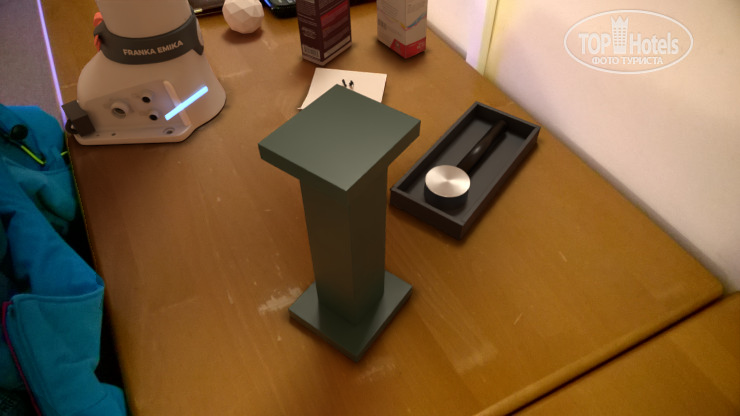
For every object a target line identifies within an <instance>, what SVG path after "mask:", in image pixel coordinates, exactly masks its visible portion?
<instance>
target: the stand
mask: <svg viewBox="0 0 740 416" xmlns="http://www.w3.org/2000/svg"><path fill="white" fill-rule="evenodd" d="M421 123H422V119H419V118H417V117H415V116H413V115H410V114H408V113H406V112H404V111H401V110H398V109H396V108H395V107H392V106H389V105H387V104H385V103H382V102H381V103H380V102H378V101H376V100H373V99H371V98H369V97H366V96H364V95H362V94H360V93H357V92H355V91H353V90H350V89H348V88H346V87H343V86H341V85H339V84H336V85H334V86H333V87H332V88H330V89H329V90H328V91H326V92H325V93H324V94H322V95H321V96H320V97H318V98H317V99H316V100H314V101H313V102H312V103H310V104H309V105H308V106H306V107H305V108H304V109H300V111H298V112H297V113H296V114H295V115H293V116H292V117H291V118H289V119H288V120H286V121H285V122H284V123H282V124H280V126H279V127H277V128H276V129H275V130H273V131H272V132H270V133H269V134H267V136H265V137H264V138H262V139H261V140H260V141H259V142H258V143H257V148H258V152H259V157H260V160H262V161H264V162H266V163H267V164H269V165H271V166H273V167H275V168H276V169H278V170H280V171H282V172H283V173H285V174H287V175H289V176H291V177H292V178H295V179H296V180H298V181H299V189H300V194H301V200H302V208H303V214H304V220H305V226H306V232H307V239H308V245H309V251H310V258H311V265H312V270H313V278H314V281H313V282H312V283H311V284H310V285H309V286H308V287H307V288H306V289H305V290H304V291H303V292H302V293H301V295H300V296H299V297H298V298H297V299H295V301H294V302H292V304H291V305H290V306H289V307H288V308H287V310H288V315H289V317H290V318H292V319H293V320H295V322H298V323H299V324H300V325H302V326H303V327H305V328H306V329H308V330H309V331H310V332H312V333H313V334H315V335H316V336H317V337H318V338H320V339H322V340H323V341H324V342H325V343H327V344H329V345H330V346H331V347H333V348H335V349H336V350H337V351H339V352H340V353H341V354H342V355H345V356H346V357H347V358H349V359H350V360H351V361H352V362H354V363H356V364H358V363H359V362H360V360H361V359H362V358H363V357H364V355H365V354H367V351H368V350H369V349H370V348H371V346H372V345H373V344H374V343H375V341H376V340H377V339H378V337H379V336H380V335H381V333H382V332H383V331H384V330H385V329H386V327H387V326H388V325H389V324H390V322H391V321H392V320H393V318H394V317H395V316H396V315H397V313H398V312H399V311H400V310H401V308H402V307H403V306H404V304H405V303H406V302H407V300H408V299H409V298H410V297H411V296H412V294H413V287H414V286H413V285H412V284H410V283H409V282H407V281H406V280H404V279H402V278H400V277H398V276H397V275H395V274H393V273H392V272H390V271H388V270H386V243H387V242H386V241H387V240H386V238H387V237H386V236H387V203H388V171H389V170H388V169H389V166H391V164H392V163H393V162H395V160H396V159H397V158H398V157H399V156H401V155H402V153H403V152H404V151H406V149H408V147H410V146H411V145H412V144H413V143H414V142H415V141H416V140H417V139H418V138H419V137H420V134H421V125H422V124H421Z"/></svg>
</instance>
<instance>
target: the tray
mask: <svg viewBox="0 0 740 416" xmlns="http://www.w3.org/2000/svg"><path fill="white" fill-rule="evenodd" d="M499 120H503V121H505V122H506V123H507V124H508V130H507V131H506V133H505V134H504V135H503V136H502V137H501V138H500V139H499V141H498V142H497V143H496V144H495V145H494V146H493V148H492V149H491V150H490V151H489V152H488V153H487V154H486V156H485V157H484V158H483V159H482V160H481V161H480V162H479V164H478V165H477V166H476V167H475V168H474V169H473V171H472V172H471V173H470V174H469V175H468V177H469V179H470V188H469V193H468V198H467V200H466V202H465V203H464V205H462V206H461V207H459V208H457V209H453V210H442V209H438V208H436V207H434V206H432V205H431V204H429V203H428V202H427V200H426V199H425V197H424V185H425V177H426V174H427V173H428V172H429V171H430V170H431V169H433V168H434V167H437V166H442V165H449V166H454V167H456V166H457V164H458V163H459V162H460V161H461V160H462V159H463V158H464V157H465V156H466V155H467V153H468V152H469V151H470V150H471V149H472V148H473V147H474V146H475V145H476V144H477V142H478V141H479V140H480V139H481V138H482V137H483V136H484V135H485V134H486V133H487V131H488V130H489V129H490V128H491V127H492V126H493V125H494V124H495V123H496V122H497V121H499ZM541 129H542V126H541V125H538V124H536V123H533V122H531V121H528V120H526V119H523V118H521V117H518V116H516V115H513V114H510V113H508V112H505V111H503V110H500V109H498V108H495V107H493V106H490V105H488V104H486V103H483V102H480V101H478V100H475V101H474V102H473V103H472V104H471V106H469V107H468V108H467V110H465V111H464V113H463V114H462V115H460V117H459V118H458V119H456V121H455V122H454V123H453V124H451V126H450V127H449V128H448V129H447V130H446V131H445V132H444V133H443V134H442V135H441V136H440V137H439V138H438V139H437V141H435V142H434V143H433V144H432V145H431V146H430V147H429V149H428V150H426V151H425V153H423V154H422V156H421V157H420V158H419V159H418V160H417V161H416V162H415V163H414V164H412V165H411V167H409V169H408V170H407V171H406V172H405V173H404V174H403V175H402V176H401V177H400V178H399V179H398V180H397V181H396V182H395V184H393V185H392V186H391V187H390V189H389V204H390V205H393V207H395V208H398V209H400V210H401V211H404V212H405V213H406V214H409V215H411V216H413V217H415V218H416V219H419V220H420V221H422V222H424V223H426V224H427V225H430V226H432V227H434V228H436V229H437V230H439V231H441V232H443V233H445V234H446V235H449V236H451V237H453V238H454V239H457V240H458V241H461V240H462V238H463V237H464V236H465V235H466V233H467V232H468V231H469V230H470V228H471V227H472V226H473V224H474V223H475V221H476V220H477V219H478V218H479V216H480V215H481V214H482V212H483V211H484V210H485V208H486V207H487V206H488V205H489V203H491V201H492V200H493V198H495V196H496V194H497V193H498V192H499V191H500V189H501V188H502V187H503V185H504V184H505V183H506V182H507V180H508V179H509V178H510V177H511V175H512V174H513V172H514V171H516V169H517V167H518V166H519V165H520V163H521V162H522V161H523V160H524V158H525V157H526V156H527V154H528V153H529V152H530V150H532V148H533V147H534V145H535V144H536V143H537V141H538V139H539V135H540V132H541Z"/></svg>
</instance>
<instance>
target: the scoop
mask: <svg viewBox="0 0 740 416" xmlns="http://www.w3.org/2000/svg"><path fill="white" fill-rule="evenodd" d="M507 130H508V124H507V123H506V122H505V121H503V120H499V121H497V122H496V123H495V124H494V125H493V126H492V127H491V128H490V129H489V130H488V131H487V133H486V134H485V135H484V136H483V137H482V138H481V139H480V140H479V141H478V142H477V144H476V145H475V146H474V147H473V148H472V149H471V150H470V151H469V152H468V153H467V155H466V156H465V157H464V158H463V159H462V160H461V161H460V162H459V163H458V164H457V166H456V167H454V166H449V165H442V166H437V167H434V168H433V169H431V170H430V171H429V172H428V173H427V174H426V177H425V185H424V197H425V199H426V200H427V202H428V203H429V204H431V205H432V206H434V207H436V208H438V209H442V210H453V209H457V208H459V207H461V206H462V205H464V203H465V202H466V200H467V198H468V193H469V188H470V179H469V177H468V175H469V174H470V173H471V172H472V171H473V169H474V168H475V167H476V166H477V165H478V164H479V162H480V161H481V160H482V159H483V158H484V157H485V156H486V154H487V153H488V152H489V151H490V150H491V149H492V148H493V146H494V145H495V144H496V143H497V142H498V141H499V139H500V138H501V137H502V136H503V135H504V134H505V133H506V131H507Z"/></svg>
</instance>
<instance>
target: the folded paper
mask: <svg viewBox="0 0 740 416" xmlns="http://www.w3.org/2000/svg"><path fill="white" fill-rule="evenodd" d="M387 76H388V74H387V73H377V72H366V71H357V70H345V69H336V68H335V69H334V68H326V67H325V68H324V67H315V70H314V74H313V77H312V79H311V83H310V85H309V86H310V87H309V90H308V92H307V96H306V97H305V99H304V101H303V103H302V105H301V106H300V107H297V109H299V110H303V109H304V108H305V107H306V106H308V105H309V104H310V103H312V102H313V101H314V100H316V99H317V98H318V97H320V96H321V95H322V94H324V93H325V92H326V91H328V90H329V89H330V88H332V87H333V86H334V85H336V84H339V85H341V86H343V87H346V88H348V89H350V90H353V91H355V92H357V93H360V94H362V95H364V96H366V97H369V98H371V99H373V100H376V101H378V102H380V103H382V101H383V95H384V90H385V86H386V80H387Z"/></svg>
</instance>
